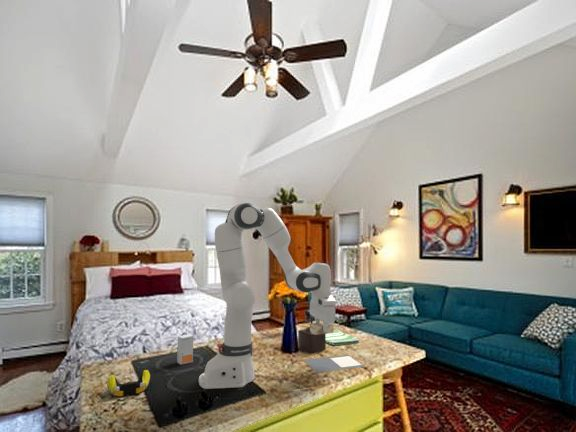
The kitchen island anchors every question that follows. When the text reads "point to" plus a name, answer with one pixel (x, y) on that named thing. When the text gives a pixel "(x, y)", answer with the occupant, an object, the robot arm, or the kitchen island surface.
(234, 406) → the kitchen island surface
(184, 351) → the skincare box
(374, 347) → the kitchen island surface
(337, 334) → the dish towel
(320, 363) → the mat
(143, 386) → the gaming controller
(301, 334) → the manual coffee grinder
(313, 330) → the tan rectangular block
